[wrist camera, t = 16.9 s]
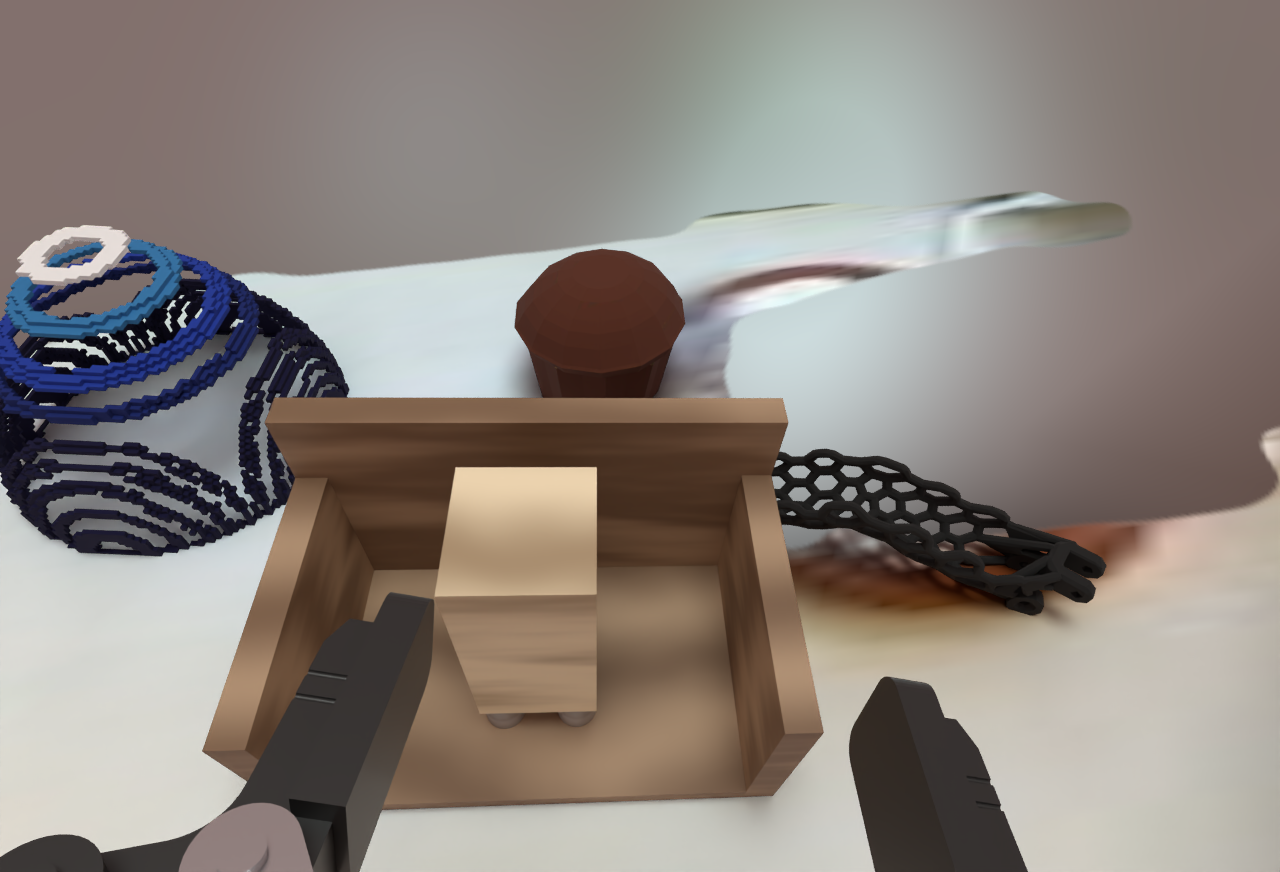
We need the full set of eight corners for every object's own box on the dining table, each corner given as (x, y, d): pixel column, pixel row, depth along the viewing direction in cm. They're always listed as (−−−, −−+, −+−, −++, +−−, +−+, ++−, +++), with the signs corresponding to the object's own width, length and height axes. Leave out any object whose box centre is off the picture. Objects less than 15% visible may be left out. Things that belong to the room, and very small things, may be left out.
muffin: (586, 466, 47) (584, 358, 39) (491, 376, 52) (473, 265, 44) (707, 385, 52) (726, 277, 45) (611, 310, 57) (613, 202, 50)
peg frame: (357, 556, 42) (274, 397, 31) (736, 551, 43) (782, 398, 32) (294, 812, 33) (147, 714, 22) (772, 795, 34) (853, 696, 24)
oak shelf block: (491, 606, 36) (455, 467, 27) (596, 604, 37) (596, 467, 27) (479, 713, 33) (434, 596, 24) (596, 711, 33) (596, 594, 24)
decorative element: (706, 528, 45) (718, 474, 40) (724, 468, 48) (738, 412, 43) (1073, 639, 41) (1133, 593, 36) (1068, 567, 44) (1122, 516, 39)
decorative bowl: (382, 337, 54) (327, 163, 43) (294, 563, 41) (184, 399, 30) (122, 323, 54) (0, 145, 43) (-48, 548, 41) (-286, 376, 30)
